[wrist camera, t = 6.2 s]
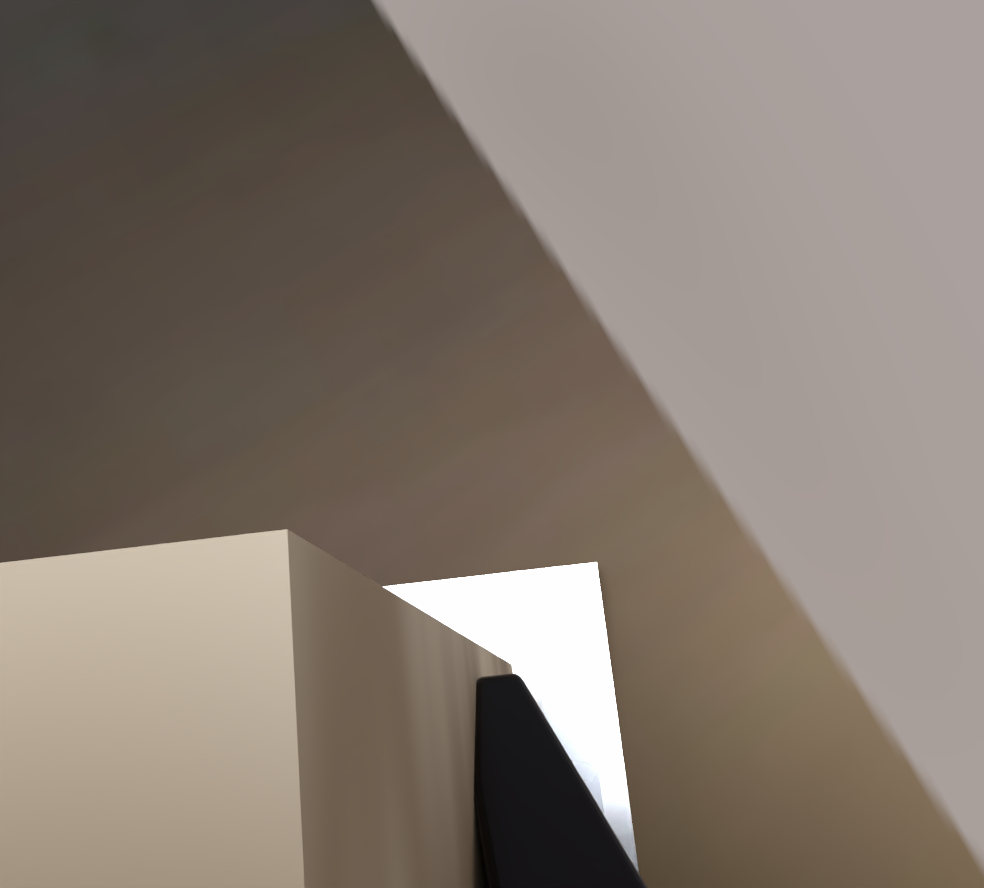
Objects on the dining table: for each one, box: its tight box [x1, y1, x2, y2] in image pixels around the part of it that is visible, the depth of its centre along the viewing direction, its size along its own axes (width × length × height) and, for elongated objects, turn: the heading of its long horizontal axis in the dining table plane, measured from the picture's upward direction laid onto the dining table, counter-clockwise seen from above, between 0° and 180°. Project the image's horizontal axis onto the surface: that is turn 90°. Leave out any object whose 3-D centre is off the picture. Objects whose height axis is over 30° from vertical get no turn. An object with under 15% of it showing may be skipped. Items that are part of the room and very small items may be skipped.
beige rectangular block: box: [0, 529, 513, 888], centre depth 8 cm, size 4×2×13 cm, turn 6°
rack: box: [384, 562, 639, 873], centre depth 18 cm, size 8×6×4 cm
